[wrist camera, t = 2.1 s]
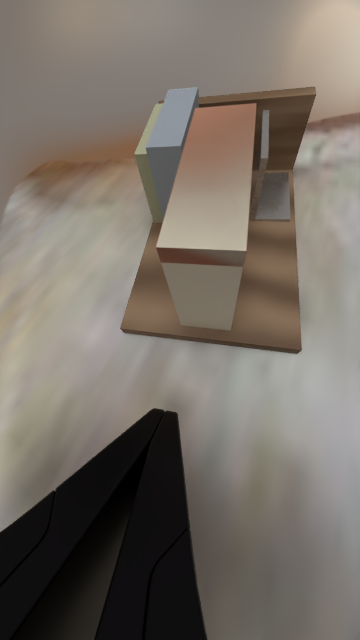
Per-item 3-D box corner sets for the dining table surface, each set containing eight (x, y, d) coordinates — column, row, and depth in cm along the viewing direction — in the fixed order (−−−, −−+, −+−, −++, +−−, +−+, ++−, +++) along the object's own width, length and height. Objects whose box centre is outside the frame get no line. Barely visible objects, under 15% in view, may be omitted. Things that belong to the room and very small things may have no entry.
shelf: (297, 353, 19) (349, 309, 12) (123, 332, 22) (81, 287, 15) (289, 170, 29) (315, 86, 22) (171, 173, 32) (159, 100, 25)
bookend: (289, 221, 24) (314, 156, 18) (249, 221, 25) (260, 158, 19) (287, 174, 27) (308, 106, 21) (252, 175, 28) (262, 110, 22)
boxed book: (230, 330, 20) (246, 250, 11) (180, 325, 20) (155, 247, 11) (240, 217, 25) (256, 103, 16) (201, 217, 26) (195, 108, 17)
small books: (190, 229, 25) (180, 145, 18) (152, 228, 26) (127, 148, 19) (201, 174, 29) (198, 86, 22) (168, 175, 30) (153, 91, 23)
